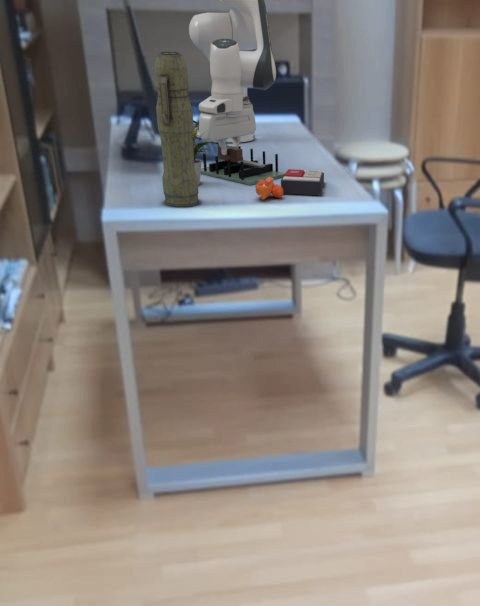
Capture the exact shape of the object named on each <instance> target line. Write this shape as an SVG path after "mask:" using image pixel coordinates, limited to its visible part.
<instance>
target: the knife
mask: <svg viewBox="0 0 480 606" xmlns="http://www.w3.org/2000/svg"><path fill="white" fill-rule="evenodd" d="M230 146H231V145H226V147H227V148H229V154H227V155H223V154H222V152H221V147H220V145H217V156H218V160H221V161H224V160H227V161H228V159H231V162H236V163H240V162H241V161H242V162H243V164H245V165H250V166H254V167H259V168H261V167H265V164H263V163H261V162H260V163H259V162H258V163H256V162H251V160H247V159H244V155H243V153H244V152H243V148H241V149H240V148H235V147H230Z"/></svg>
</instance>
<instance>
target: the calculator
mask: <svg viewBox="0 0 480 606" xmlns="http://www.w3.org/2000/svg"><path fill="white" fill-rule="evenodd" d="M284 173H285V174H284V176H283V177H281V180H280V186H281V187H282V188H283V195H287V194H288V195H302V196H303V195H304V196H321V195H322V191H323V187H324V184H325V172H323V170H314V169H313V170H311V169H306V170H304V169H295V168H294V169H291V168H288V169H287V170H286V171H285V172H284Z"/></svg>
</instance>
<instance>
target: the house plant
mask: <svg viewBox="0 0 480 606" xmlns="http://www.w3.org/2000/svg"><path fill="white" fill-rule="evenodd" d="M198 130H199V126H198V127H196V126H194V132H193V135H192V137H193V151H194V165H195V172H196V174H197V179H198V186H199V185H200V184H201V168H202V161H203V160H202V159H200V158H197V157H198V155H199V154H200V153H206V155H208V152H211V150H210V149H209V148H207V147H204V146H206V145H208V144H213V143H214V142H208V141H202V142H198V141H199V139H201V136H202V135H204V133H205V132H204V133H203V134H201V136H200V137H197V136H198V135H197V131H198ZM206 132H207V131H206ZM196 135H197V136H196ZM202 147H203V148H202ZM207 151H208V152H207Z"/></svg>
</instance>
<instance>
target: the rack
mask: <svg viewBox="0 0 480 606" xmlns="http://www.w3.org/2000/svg"><path fill="white" fill-rule="evenodd" d="M238 148H240V149H242V146H241V145H239V146H238ZM206 153H207V152H206ZM206 153H204V152H202V158H203V159H202V161H203V167H201V173H200V175H201V174H202V175H207V176H210V177H215V178H219V179H223V180H227V181H231V182H235V183H240V184H244V185H247V186H253V185H256V184H257V183H258V181H259V180H266V179H267V178H268V177H271V178H274V180H276V179H280V178H281V179H282V178H283V176H284V174H285V173H286V172H283V171H279V154H278V153H275V154H274V163H275V164H273V163H271V162H269V163H266V151H264V150H262V164H265V167H261V168H259V167H254V166H250V165H245V164H243V162H242V161H241V162H240V163H236V162H231V159H228V161H227V160H219V159H218V155H215V156H214V158H215V161H214V162H210V163H208V166H207V154H206ZM249 154H250V157H249V158H250V161H251V162H256V163H259V160H257V159H254V149H253V148H250V149H249ZM274 167H275V169H274Z"/></svg>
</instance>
